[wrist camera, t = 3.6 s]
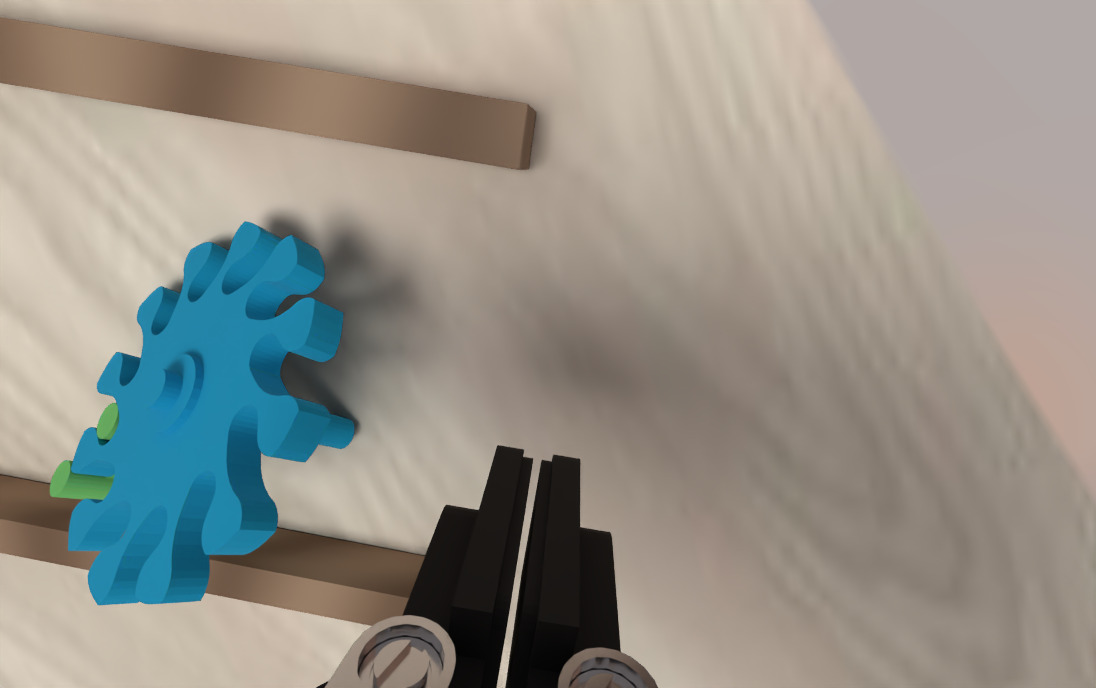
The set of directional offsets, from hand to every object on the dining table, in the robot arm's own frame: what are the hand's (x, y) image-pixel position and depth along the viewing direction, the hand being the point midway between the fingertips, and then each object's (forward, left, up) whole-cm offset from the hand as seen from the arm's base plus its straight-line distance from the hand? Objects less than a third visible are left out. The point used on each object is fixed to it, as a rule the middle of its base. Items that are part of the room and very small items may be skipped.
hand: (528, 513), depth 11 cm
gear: (+10, +1, -7) cm, 12 cm away
